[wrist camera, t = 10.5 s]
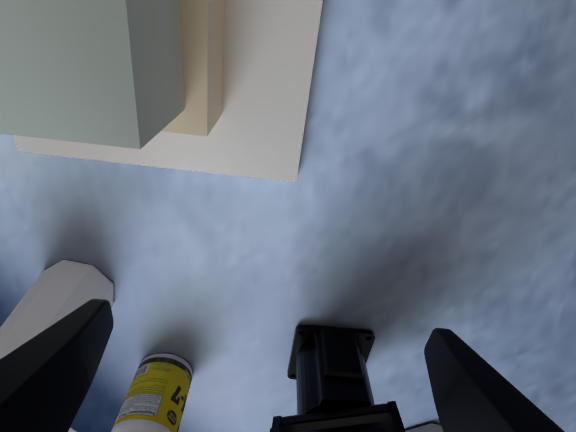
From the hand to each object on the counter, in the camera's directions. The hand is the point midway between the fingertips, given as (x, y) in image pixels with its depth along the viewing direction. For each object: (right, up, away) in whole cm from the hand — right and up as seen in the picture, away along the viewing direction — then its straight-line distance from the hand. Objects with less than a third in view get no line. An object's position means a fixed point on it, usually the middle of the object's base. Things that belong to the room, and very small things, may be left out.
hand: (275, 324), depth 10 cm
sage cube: (-6, +10, +3) cm, 12 cm away
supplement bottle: (-10, -11, +21) cm, 26 cm away
